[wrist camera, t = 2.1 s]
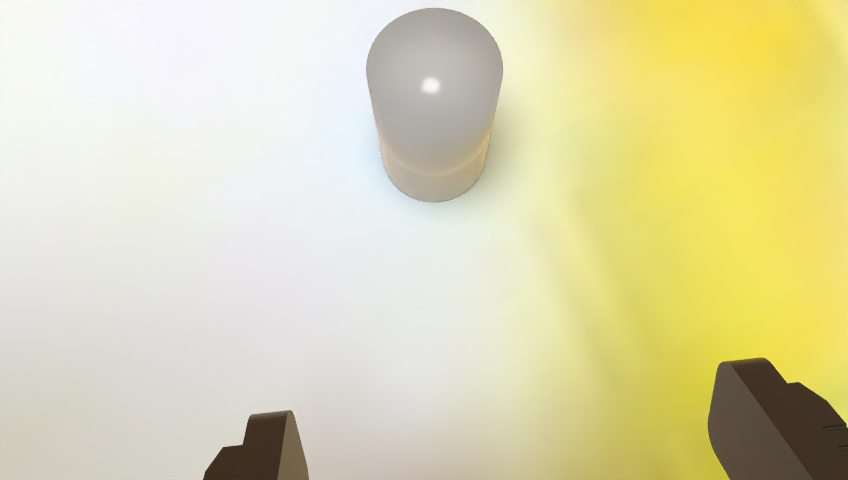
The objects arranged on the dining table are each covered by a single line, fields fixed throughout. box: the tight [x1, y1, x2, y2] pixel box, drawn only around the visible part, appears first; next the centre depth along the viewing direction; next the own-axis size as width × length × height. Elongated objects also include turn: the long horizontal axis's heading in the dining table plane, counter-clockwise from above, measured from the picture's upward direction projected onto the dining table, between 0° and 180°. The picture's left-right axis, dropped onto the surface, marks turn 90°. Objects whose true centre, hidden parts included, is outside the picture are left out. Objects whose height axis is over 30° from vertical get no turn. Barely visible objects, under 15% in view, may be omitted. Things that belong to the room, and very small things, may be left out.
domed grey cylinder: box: [366, 8, 503, 202], centre depth 26 cm, size 5×5×8 cm
